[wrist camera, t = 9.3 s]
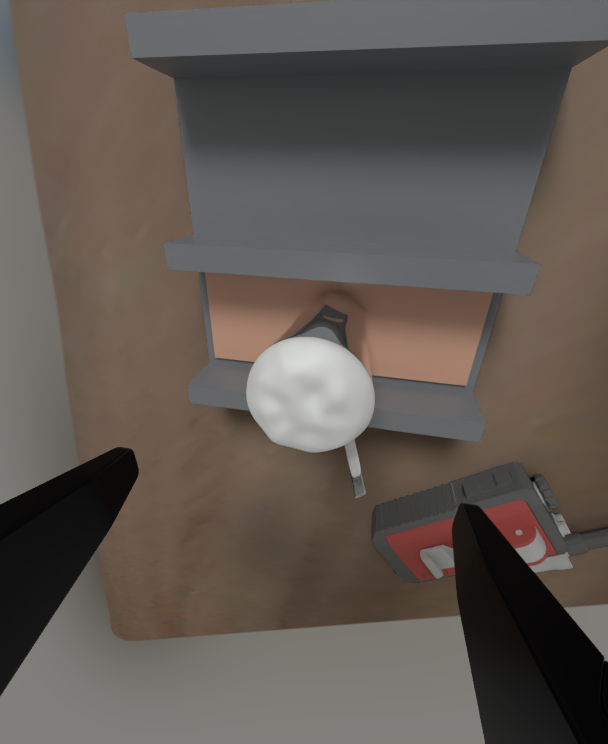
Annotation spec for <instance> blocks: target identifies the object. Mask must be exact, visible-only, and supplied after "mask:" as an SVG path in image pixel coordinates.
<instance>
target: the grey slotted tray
mask: <svg viewBox="0 0 608 744" xmlns="http://www.w3.org/2000/svg"><path fill="white" fill-rule="evenodd" d="M124 16H125V22H126V27H127V33H128V39H129V45H130V51H131V57H132V58H133V59H135V60H137V61H139V62H141V63H143V64H145V65H147V66H149V67H151V68H153V69H156V70H158V71H160V72H162V73H164V74H166V75H168V76H170V77H172V78H174V85H175V93H176V101H177V108H178V116H179V124H180V132H181V140H182V148H183V155H184V163H185V171H186V179H187V187H188V195H189V203H190V210H191V218H192V226H193V234H192V235H189V236H186V237H182V238H179V239H175V240H172V241H168V242H165V243H163V246H164V251H165V257H166V263H167V269H169V270H183V271H197V272H198V273H199V281H200V289H201V297H202V304H203V312H204V320H205V328H206V336H207V344H208V352H209V359H210V362H209V363H208V364H207V365H206V366H205V367H204V368H203V369H202V370H201V371H200V372H199V373H198V375H197V376H196V377H195V378H194V379H193V380H192V381H191V382H190V383H189V384H188V385H187V387H188V393H189V399H190V403H196V404H203V405H210V406H217V407H225V408H232V409H239V410H247V411H250V410H249V407H248V404H247V398H246V388H247V381H248V376H249V373H250V370H251V368H252V366H253V364H254V363H255V361H256V360H257V358H258V357H259V356H260V355H261V354H262V353H263V352H264V351H265V350H266V349H267V348H268V347H269V346H270V345H271V344H272V343H273V342H274V341H275V340H276V339H277V338H278V337H279V336H281V335H282V334H283V333H284V332H285V331H286V330H287V329H288V328H289V327H290V326H291V325H292V323H293V322H294V321H295V320H296V319H297V318H298V317H299V316H300V315H301V314H302V313H303V311H304V310H305V309H306V308H307V307H308V306H309V305H310V304H311V303H312V302H313V301H314V300H315V299H316V298H318V297H321V296H323V295H326V294H329V293H331V292H337V293H340V294H344V295H348V296H352V297H353V298H354V300H355V301H356V302H357V303H358V304H359V306H360V307H361V308H362V309H363V310H364V316H365V329H366V341H367V349H368V355H369V361H370V367H371V373H372V379H373V385H374V392H375V406H374V412H373V415H372V418H371V421H370V423H369V425H368V426H367V427H371V428H378V429H386V430H393V431H400V432H407V433H415V434H422V435H429V436H437V437H444V438H451V439H459V440H466V441H473V442H480V440H481V437H482V434H483V431H484V429H485V426H486V422H485V420H484V417H483V415H482V413H481V410H480V408H479V405H478V403H477V401H476V398H475V396H474V394H473V390H474V386H475V383H476V380H477V377H478V373H479V370H480V367H481V363H482V360H483V357H484V354H485V350H486V347H487V344H488V340H489V337H490V334H491V331H492V327H493V324H494V321H495V317H496V314H497V311H498V308H499V304H500V301H501V298H502V294H503V293H509V294H523V295H531V292H532V289H533V287H534V284H535V281H536V278H537V275H538V272H539V269H540V266H541V264H539V263H537V262H535V261H533V260H532V259H530V258H528V257H526V256H524V255H522V254H520V253H519V252H517V251H516V248H517V245H518V242H519V239H520V235H521V232H522V229H523V225H524V222H525V219H526V216H527V212H528V209H529V206H530V202H531V199H532V196H533V193H534V189H535V186H536V183H537V179H538V176H539V173H540V170H541V166H542V163H543V160H544V156H545V153H546V150H547V147H548V143H549V140H550V137H551V133H552V130H553V127H554V124H555V120H556V117H557V114H558V110H559V107H560V104H561V101H562V97H563V94H564V91H565V88H566V84H567V81H568V78H569V74H570V71H571V68H572V67H574V66H575V65H577V64H579V63H580V62H582V61H584V60H585V59H587V58H589V57H590V56H592V55H594V54H595V53H597V52H599V51H600V50H602V49H604V48H606V47H607V46H608V0H335V1H319V2H302V3H286V4H270V5H253V6H237V7H220V8H204V9H188V10H171V11H155V12H138V13H124Z"/></svg>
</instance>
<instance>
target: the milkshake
mask: <svg viewBox="0 0 608 744" xmlns="http://www.w3.org/2000/svg"><path fill="white" fill-rule="evenodd" d="M246 398H247V404H248V407H249V410H250V412H251V414H252V416H253V418H254V419H255V420H256V422H257V423H258V424H259V425H260V427H261V428H262V429H263V430H264V432H265V433H266V434H267V436H268V437H269V438H270V439H271V440H272V441H273V442H275V443H277V444H279V445H283V446H287V447H292V448H296V449H299V450H302V451H306V452H312V453H318V452H325V451H329V450H333V449H336V448H339V447H341V446H344V445H345V450H346V455H347V460H348V466H349V471H350V476H351V481H352V486H353V491H354V496H355V498H359V497H361V496H363V495H365V494H366V488H365V483H364V479H363V474H362V470H361V465H360V461H359V456H358V452H357V447H356V443H355V438H357V437H358V436H359V435H360V434H361V433H362V432H363V431H364V430H365V429H366V428H367V426H368V425H369V423H370V421H371V418H372V415H373V412H374V406H375V392H374V385H373V379H372V373H371V367H370V361H369V355H368V349H367V341H366V329H365V316H364V310H363V309H362V308H361V307H360V306H359V304H358V303H357V302H356V301H355V300H354V298H353V297H352V296H348V295H344V294H340V293H337V292H331V293H329V294H326V295H323V296H321V297H318V298H316V299H315V300H314V301H313V302H312V303H311V304H310V305H309V306H308V307H307V308H306V309H305V310H304V311H303V313H302V314H301V315H300V316H299V317H298V318H297V319H296V320H295V321H294V322H293V323H292V325H291V326H290V327H289V328H288V329H287V330H286V331H285V332H284V333H283V334H282V335H281V336H279V337H278V338H277V339H276V340H275V341H274V342H273V343H272V344H271V345H270V346H269V347H268V348H267V349H266V350H265V351H264V352H263V353H262V354H261V355H260V356H259V357H258V358H257V360H256V361H255V363H254V364H253V366H252V368H251V370H250V373H249V376H248V381H247V388H246Z"/></svg>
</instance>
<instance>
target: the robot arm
mask: <svg viewBox="0 0 608 744" xmlns="http://www.w3.org/2000/svg"><path fill="white" fill-rule="evenodd" d="M138 473H139V469H138V465H137V461H136V458H135V455H134V452H133V450H132V449H129V448H123V447H117V448H114V449H112V450H110V451H108V452H106V453H104V454H102V455H100V456H98V457H96V458H94V459H92V460H90V461H88V462H86V463H84V464H82V465H80V466H78V467H76V468H74V469H72V470H70V471H67V472H65V473H64V474H61V475H59V476H57V477H55V478H53V479H51V480H49V481H47V482H45V483H43V484H41V485H39V486H37V487H35V488H33V489H31V490H29V491H27V492H25V493H23V494H21V495H19V496H17V497H15V498H12V499H10V500H9V501H6V502H5V503H2V504H0V696H1V694H2V693H3V691H4V690H5V688H6V687H7V685H8V683H9V682H10V681H11V679H12V678H13V676H14V675H15V673H16V671H17V670H18V668H19V667H20V665H21V664H22V662H23V661H24V659H25V658H26V656H27V655H28V653H29V652H30V650H31V649H32V647H33V646H34V644H35V643H36V641H37V639H38V638H39V636H40V635H41V633H42V632H43V630H44V629H45V627H46V626H47V624H48V623H49V621H50V620H51V618H52V617H53V615H54V613H55V612H56V610H57V609H58V607H59V605H60V604H61V603H62V601H63V600H64V598H65V597H66V595H67V594H68V592H69V591H70V589H71V588H72V586H73V584H74V583H75V581H76V580H77V578H78V577H79V575H80V574H81V572H82V571H83V569H84V568H85V566H86V565H87V563H88V562H89V560H90V559H91V557H92V555H93V554H94V552H95V551H96V549H97V548H98V546H99V545H100V543H101V542H102V540H103V539H104V537H105V536H106V534H107V532H108V531H109V529H110V528H111V526H112V524H113V522H114V521H115V519H116V517H117V515H118V513H119V511H120V510H121V508H122V506H123V504H124V502H125V500H126V498H127V496H128V494H129V493H130V491H131V489H132V487H133V485H134V483H135V481H136V479H137V477H138ZM452 542H453V555H454V567H455V579H456V590H457V599H458V605H459V610H460V615H461V620H462V625H463V630H464V635H465V641H466V646H467V652H468V657H469V662H470V667H471V672H472V677H473V682H474V688H475V692H476V698H477V703H478V708H479V714H480V719H481V723H482V729H483V734H484V739H485V744H608V662H607V661H604V656H603V655H602V654H601V653H600V652H599V650H598V649H597V648H596V647H595V645H594V644H593V643H592V642H591V641H590V640H589V638H588V637H587V636H586V634H584V632H583V631H582V630H581V628H580V627H579V626H578V625H577V624H576V622H575V621H574V620H573V619H572V618H571V616H570V615H569V614H568V613H567V612H566V610H565V609H564V608H563V607H562V605H561V604H560V603H559V602H558V601H557V599H556V598H555V597H554V596H553V595H552V593H551V592H550V591H549V590H548V589H547V587H546V586H545V585H544V584H543V582H542V581H541V580H540V579H539V578H538V576H537V575H536V574H535V573H534V572H533V570H532V569H531V568H530V567H529V566H528V564H527V563H526V562H525V561H524V560H523V558H522V557H521V556H520V555H519V553H518V552H517V551H516V550H515V549H514V547H513V546H512V545H511V544H510V543H509V541H508V540H507V539H506V538H505V537H504V535H503V534H502V533H501V532H500V531H499V529H498V528H497V527H496V526H495V524H494V523H493V522H492V521H491V520H490V518H489V517H488V516H487V515H486V514H485V512H484V511H483V510H482V509H481V508H480V507H479V506H478V505H475V504H469V503H460V505H459V506H458V509H457V512H456V515H455V518H454V521H453V524H452Z"/></svg>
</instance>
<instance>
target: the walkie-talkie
mask: <svg viewBox="0 0 608 744" xmlns="http://www.w3.org/2000/svg"><path fill="white" fill-rule="evenodd" d="M534 480H535V481H531V479H530V478H529V476H528V474H527V472H526V471H525V469H524V467H523V466H522V464H521V463H515V462H512V463H508V464H505V465H502V466H499V467H496V468H493V469H489V470H486V471H483V472H480V473H477V474H474V475H471V476H467V477H464V478H461V479H458V480H455V481H452V482H449V484H446V485H444V484H442V486H439V487H437V486H436V487H434V488H433V489H427V491H420V493H417V494H416V493H414V494H413V495H411V496H409V495H407V497H404V498H403V497H401V498H400V499H398V500H396V499H395V500H394V501H392V502H390V501H388V502H387V503H385V504H383V503H382V504H381V505H379V506H377V505H376V507H375V509H374V511H373V521H372V542H373V544H374V546H375V548H376V549H377V550H378V552H379V553H380V554H381V555H382V556H383V557H384V559H385V560H386V561H387V562H388V563H389V565H390V566H391V567H392V568H393V569H394V572H395V573H396V574H398V575H399V576H400V578H401V579H402V580H403V581H404V582H414V583H419V582H425V581H429V580H434V579H439V578H446V577H450V576H455V567H454V555H453V542H452V524H453V521H454V518H455V515H456V512H457V509H458V506H459V505H460V503H469V504H475V505H478V506H479V507H480V508H481V509H482V510H483V511H484V512H485V514H486V515H487V516H488V517H489V518H490V520H491V521H492V522H493V523H494V524H495V526H496V527H497V528H498V529H499V531H500V532H501V533H502V534H503V535H504V537H505V538H506V539H507V540H508V541H509V543H510V544H511V545H512V546H513V547H514V549H515V550H516V551H517V552H518V553H519V555H520V556H521V557H522V558H523V560H524V561H525V562H526V563H527V564H528V566H529V567H530V568H531V569H532V570H533V572H534V573H537V572H542V571H548V570H553V569H560V570H563V569H569V568H573V566H572V564H571V562H570V560H569V558H568V557H569V556H574V555H579V554H584V553H588V550H590V549H595V548H601V547H606V546H608V527H607V528H603V529H598V530H593V531H589V532H584V533H577V532H573V533H571V532H570V530H569V528H568V527H567V524H566V522H565V520H564V518H563V517H562V515H561V513H560V514H555V515H554V514H553V513H551V514H550V512H549V510H548V508H547V505H548V506H549V507H550V508H551V509H557V508H559V504H558V502H557V500H556V498H555V496H554V494H553V493H552V491H551V489H550V487H549V485H548V484H547V482H546V480H545V478H544V477H543V475H541V474H539V475H535V476H534Z"/></svg>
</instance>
